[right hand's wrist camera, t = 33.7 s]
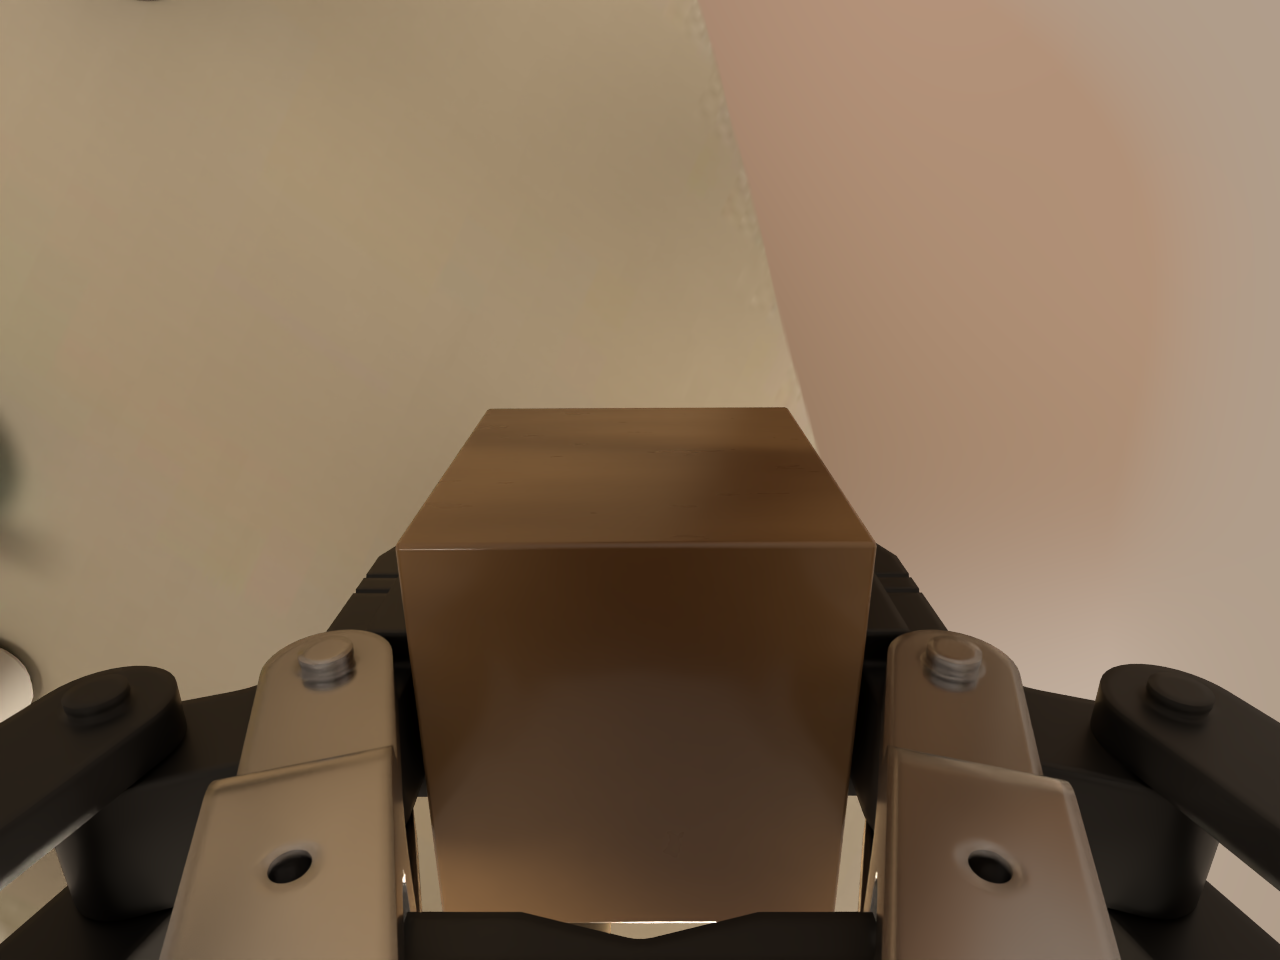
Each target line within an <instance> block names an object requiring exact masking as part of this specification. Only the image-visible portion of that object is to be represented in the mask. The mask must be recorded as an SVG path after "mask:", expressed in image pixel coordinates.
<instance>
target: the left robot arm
mask: <svg viewBox="0 0 1280 960" xmlns="http://www.w3.org/2000/svg"><path fill="white" fill-rule="evenodd" d="M569 924H573V925H577V926H581V927H586V928H590V929H594V930H598V931H602V932H606V933H610V931H611V923H569Z"/></svg>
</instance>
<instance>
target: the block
mask: <svg viewBox="0 0 1280 960" xmlns="http://www.w3.org/2000/svg"><path fill="white" fill-rule="evenodd" d="M876 547H877V546H876V543H875V541H874V539H873V538H872V536H871V535H870V533H869V532H868V530H867V529H866V527H865V526H864V524H863V523H862V521H861V519H860V518H859V516H858V515H857V513H856V512H855V510H854V509H853V507H852V506H851V504H850V503H849V501H848V500H847V498H846V497H845V495H844V494H843V492H842V491H841V489H840V488H839V486H838V485H837V483H836V482H835V480H834V479H833V477H832V475H831V474H830V473H829V471H828V469H827V468H826V466H825V465H824V463H823V462H822V460H821V459H820V457H819V456H818V454H817V453H816V451H815V450H814V448H813V447H812V445H811V444H810V442H809V440H808V439H807V437H806V436H805V434H804V433H803V431H802V430H801V428H800V427H799V425H798V424H797V422H796V421H795V419H794V418H793V416H792V415H791V413H790V412H789V410H788V409H787V408H785V407H775V408H559V409H489V410H487V412H486V413H485V415H484V416H483V418H482V419H481V420H480V422H479V423H478V425H477V426H476V428H475V429H474V431H473V432H472V434H471V435H470V437H469V438H468V440H467V441H466V443H465V444H464V446H463V447H462V448H461V450H460V451H459V453H458V454H457V456H456V457H455V459H454V460H453V462H452V463H451V465H450V466H449V468H448V469H447V471H446V472H445V474H444V475H443V476H442V478H441V479H440V481H439V482H438V484H437V485H436V487H435V488H434V490H433V491H432V493H431V494H430V496H429V497H428V499H427V500H426V502H425V503H424V504H423V506H422V507H421V509H420V510H419V512H418V513H417V515H416V516H415V518H414V519H413V521H412V522H411V524H410V525H409V527H408V528H407V530H406V531H405V532H404V534H403V535H402V537H401V538H400V540H399V541H398V543H397V545H396V548H395V549H396V556H397V564H398V572H399V579H400V587H401V595H402V602H403V610H404V618H405V625H406V633H407V641H408V648H409V656H410V664H411V671H412V679H413V687H414V694H415V702H416V710H417V717H418V725H419V733H420V740H421V748H422V756H423V763H424V771H425V779H426V786H427V794H428V802H429V809H430V817H431V825H432V832H433V840H434V848H435V855H436V863H437V871H438V879H439V886H440V894H441V902H442V909H443V912H524V913H528V914H532V915H537V916H541V917H545V918H549V919H553V920H557V921H561V922H565V923H708V922H719V921H723V920H727V919H731V918H735V917H739V916H743V915H748V914H752V913H756V912H834V911H835V903H836V894H837V885H838V877H839V868H840V859H841V850H842V842H843V833H844V824H845V816H846V807H847V798H848V790H849V781H850V772H851V764H852V755H853V746H854V738H855V729H856V720H857V712H858V703H859V694H860V686H861V677H862V668H863V660H864V651H865V642H866V634H867V625H868V616H869V608H870V599H871V590H872V582H873V573H874V564H875V556H876Z"/></svg>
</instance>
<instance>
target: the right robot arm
mask: <svg viewBox="0 0 1280 960" xmlns="http://www.w3.org/2000/svg"><path fill="white" fill-rule="evenodd" d="M139 1H154V0H139ZM876 546H877V547H876V556H875V564H874V573H873V582H872V590H871V599H870V608H869V616H868V625H867V634H866V642H865V651H864V660H863V668H862V677H861V686H860V694H859V703H858V712H857V720H856V729H855V738H854V746H853V755H852V764H851V772H850V781H849V790H848V796H857V797H858V800H859V803H860V805H861V808H862V811H863V814H864V816H865V826H864V833H863V843H862V857H861V872H860V887H859V902H858V912H756V913H752V914H748V915H743V916H739V917H735V918H731V919H727V920H723V921H719V922H715V923H711V924H707V925H703V926H699V927H694V928H690V929H686V930H682V931H678V932H674V933H670V934H666V935H662V936H658V937H654V938H648V939H632V938H626V937H622V936H618V935H614V934H610V933H606V932H602V931H598V930H594V929H590V928H586V927H581V926H577V925H573V924H569V923H565V922H561V921H557V920H553V919H549V918H545V917H541V916H537V915H532V914H528V913H524V912H422V902H421V887H420V872H419V857H418V843H417V833H416V826H415V818H414V810H413V807H414V805H415V802H416V799H417V797H428V794H427V786H426V779H425V771H424V763H423V756H422V748H421V740H420V733H419V725H418V717H417V710H416V702H415V694H414V687H413V679H412V671H411V664H410V656H409V648H408V641H407V633H406V625H405V618H404V610H403V602H402V595H401V587H400V579H399V572H398V564H397V556H396V549H395V548H396V546H395V547H393V548H392V549H390V550H389V551H387V552H386V553H384V554H382V555H381V556H379V557H378V559H377V560H376V562H375V563H374V564H373V566H372V567H371V569H370V570H369V572H368V573H367V574H366V575H367V577H366V578H364V579H363V580H362V582H361V583H360V584H359V586H358V587H357V589H356V593H353V594H352V596H351V597H350V599H349V600H348V602H347V603H346V604H345V606H344V607H343V609H342V610H341V612H340V613H339V614H338V616H337V617H336V619H335V620H334V622H333V623H332V624H331V626H330V627H329V629H328V630H327V632H324V633H319V634H315V635H312V636H308V637H306V638H303V639H300V640H298V641H296V642H294V643H292V644H289V645H288V646H286V647H284V648H283V649H281V650H280V651H278V652H277V653H276V654H274V655H273V656H272V657H271V658H270V659H269V660H268V661H267V662H266V664H265V665H264V666H263V668H262V670H261V673H260V677H259V681H258V685H256V686H253V687H250V688H246V689H242V690H238V691H233V692H228V693H223V694H218V695H212V696H207V697H202V698H197V699H191V700H186V701H181V698H180V694H179V690H178V686H177V682H176V680H175V677H174V676H173V675H172V674H171V673H170V672H168V671H166V670H164V669H161V668H157V667H150V666H129V667H120V668H114V669H109V670H105V671H101V672H97V673H94V674H91V675H88V676H84V677H82V678H79V679H77V680H74V681H72V682H69V683H67V684H65V685H63V686H61V687H59V688H57V689H55V690H54V691H52V692H50V693H48V694H47V695H45V696H43V697H42V698H40V699H38V700H37V701H35V702H33V703H32V704H30V705H29V706H27V707H25V708H24V709H22V710H20V711H19V712H17V713H16V714H14V715H12V716H11V717H9V718H7V719H6V720H4V721H3V722H1V723H0V891H1V890H2V889H4V888H5V887H6V886H7V885H8V884H10V883H11V882H12V881H13V880H15V879H16V878H17V877H18V876H20V875H21V874H22V873H23V872H25V871H26V870H27V869H28V868H30V867H31V866H32V865H33V864H35V863H36V862H37V861H38V860H39V859H41V858H42V857H43V856H44V855H46V854H47V853H48V852H49V851H51V850H52V849H53V848H55V850H56V853H57V856H58V859H59V862H60V865H61V867H62V870H63V873H64V876H65V879H66V882H67V884H68V886H67V887H66V888H64V889H63V890H62V891H61V892H60V893H59V894H57V895H56V896H55V897H54V898H53V899H52V900H51V901H49V902H48V903H47V904H46V905H45V906H44V907H42V908H41V909H40V910H39V911H38V912H37V913H36V914H34V915H33V916H32V917H31V918H30V919H29V920H27V921H26V922H25V923H24V924H23V925H22V926H21V927H19V928H18V929H17V930H16V931H15V932H14V933H12V934H11V935H10V936H9V937H8V938H7V939H6V940H4V941H3V942H2V943H1V944H0V960H1280V944H1279V943H1278V942H1277V941H1276V940H1274V939H1273V938H1272V937H1271V936H1270V935H1269V934H1268V933H1266V932H1265V931H1264V930H1263V929H1262V928H1261V927H1259V926H1258V925H1257V924H1256V923H1255V922H1254V921H1253V920H1251V919H1250V918H1249V917H1248V916H1247V915H1246V914H1244V913H1243V912H1242V911H1241V910H1240V909H1239V908H1237V907H1236V906H1235V905H1234V904H1233V903H1232V902H1231V901H1229V900H1228V899H1227V898H1226V897H1225V896H1224V895H1222V894H1221V893H1220V892H1219V891H1218V890H1217V889H1216V888H1214V887H1213V886H1212V885H1211V884H1210V883H1209V882H1207V881H1206V878H1207V875H1208V873H1209V870H1210V867H1211V864H1212V861H1213V858H1214V855H1215V852H1216V850H1217V846H1218V844H1219V843H1221V844H1222V845H1223V846H1224V847H1226V848H1227V849H1228V850H1229V851H1231V852H1232V853H1233V854H1234V855H1236V856H1237V857H1238V858H1239V859H1240V860H1242V861H1243V862H1244V863H1246V864H1247V865H1248V866H1249V867H1250V868H1252V869H1253V870H1254V871H1255V872H1257V873H1258V874H1259V875H1260V876H1262V877H1263V878H1264V879H1265V880H1267V881H1268V882H1269V883H1270V884H1272V885H1273V886H1274V887H1275V888H1276V889H1278V890H1279V891H1280V723H1279V722H1277V721H1276V720H1274V719H1273V718H1271V717H1269V716H1268V715H1266V714H1264V713H1263V712H1261V711H1260V710H1258V709H1256V708H1255V707H1253V706H1251V705H1250V704H1248V703H1246V702H1245V701H1243V700H1242V699H1240V698H1238V697H1237V696H1235V695H1233V694H1232V693H1230V692H1229V691H1227V690H1225V689H1223V688H1221V687H1220V686H1218V685H1216V684H1214V683H1212V682H1209V681H1207V680H1205V679H1203V678H1200V677H1197V676H1195V675H1192V674H1189V673H1186V672H1183V671H1180V670H1176V669H1171V668H1167V667H1162V666H1156V665H1147V664H1128V665H1120V666H1117V667H1113V668H1111V669H1109V670H1108V671H1106V672H1105V673H1104V674H1103V676H1102V678H1101V680H1100V684H1099V688H1098V692H1097V696H1096V700H1095V701H1093V700H1088V699H1083V698H1077V697H1072V696H1067V695H1061V694H1056V693H1051V692H1046V691H1040V690H1036V689H1032V688H1027V687H1024V686H1023V685H1022V681H1021V677H1020V673H1019V670H1018V668H1017V666H1016V665H1015V664H1014V662H1013V661H1012V660H1011V659H1010V658H1009V657H1008V656H1007V655H1006V654H1004V653H1003V652H1002V651H1000V650H999V649H997V648H996V647H994V646H992V645H991V644H988V643H986V642H984V641H982V640H980V639H977V638H974V637H972V636H968V635H965V634H961V633H956V632H951V631H948V630H947V629H946V627H945V626H944V624H943V623H942V621H941V620H940V619H939V617H938V616H937V614H936V613H935V611H934V610H933V608H932V607H931V605H930V604H929V602H928V601H927V600H926V598H925V597H924V595H923V594H922V593H919V588H918V587H917V585H916V584H915V582H914V581H913V579H912V578H911V577H909V574H908V572H907V571H906V569H905V568H904V566H903V565H902V563H901V562H900V560H899V559H898V558H897V556H896V555H894V554H892V553H891V552H889V551H888V550H886V549H885V548H883V547H881V546H880V545H878V544H877V543H876Z"/></svg>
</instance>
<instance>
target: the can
mask: <svg viewBox="0 0 1280 960" xmlns="http://www.w3.org/2000/svg"><path fill="white" fill-rule="evenodd" d="M32 699H33V689H32V683H31V681H30V676H29V674H28V672H27V670H26V668H25V666H24V665H23V664H22V663H21V662H20V661H19V659H18V658H16V657H15V656H14V655H12V654H11V653H9V652H8V651H6V650H4V649H2V648H0V723H1V722H3V721H4V720H6V719H7V718H9V717H11V716H12V715H14V714H16V713H17V712H19V711H20V710H22V709H24V708H25V707H27V706H29V705H30V704H31V702H32Z"/></svg>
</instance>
